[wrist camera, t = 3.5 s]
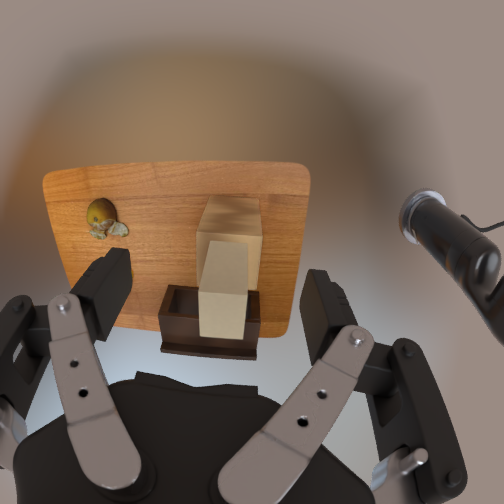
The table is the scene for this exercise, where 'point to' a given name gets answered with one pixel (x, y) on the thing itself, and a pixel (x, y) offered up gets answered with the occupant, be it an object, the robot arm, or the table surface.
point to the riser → (231, 230)
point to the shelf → (188, 331)
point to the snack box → (224, 290)
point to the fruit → (104, 219)
